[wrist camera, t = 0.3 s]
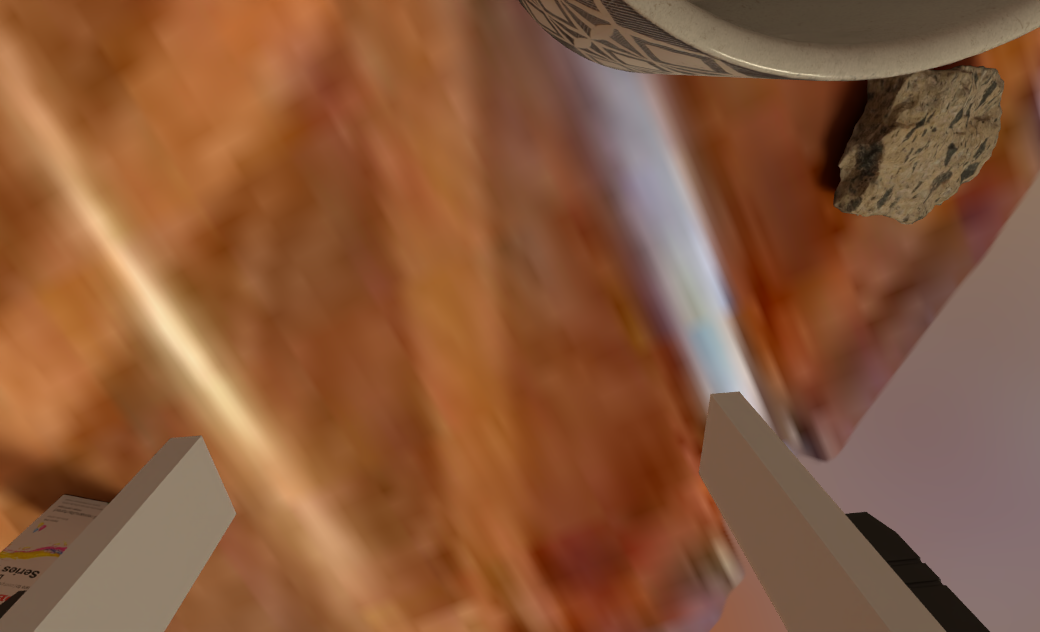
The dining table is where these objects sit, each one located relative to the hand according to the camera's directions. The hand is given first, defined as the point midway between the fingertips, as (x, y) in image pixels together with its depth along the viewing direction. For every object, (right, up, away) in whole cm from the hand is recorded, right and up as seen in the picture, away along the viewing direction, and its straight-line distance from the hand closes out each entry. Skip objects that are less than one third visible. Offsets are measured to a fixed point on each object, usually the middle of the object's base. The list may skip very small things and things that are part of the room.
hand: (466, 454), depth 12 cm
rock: (+32, +18, +25) cm, 44 cm away
